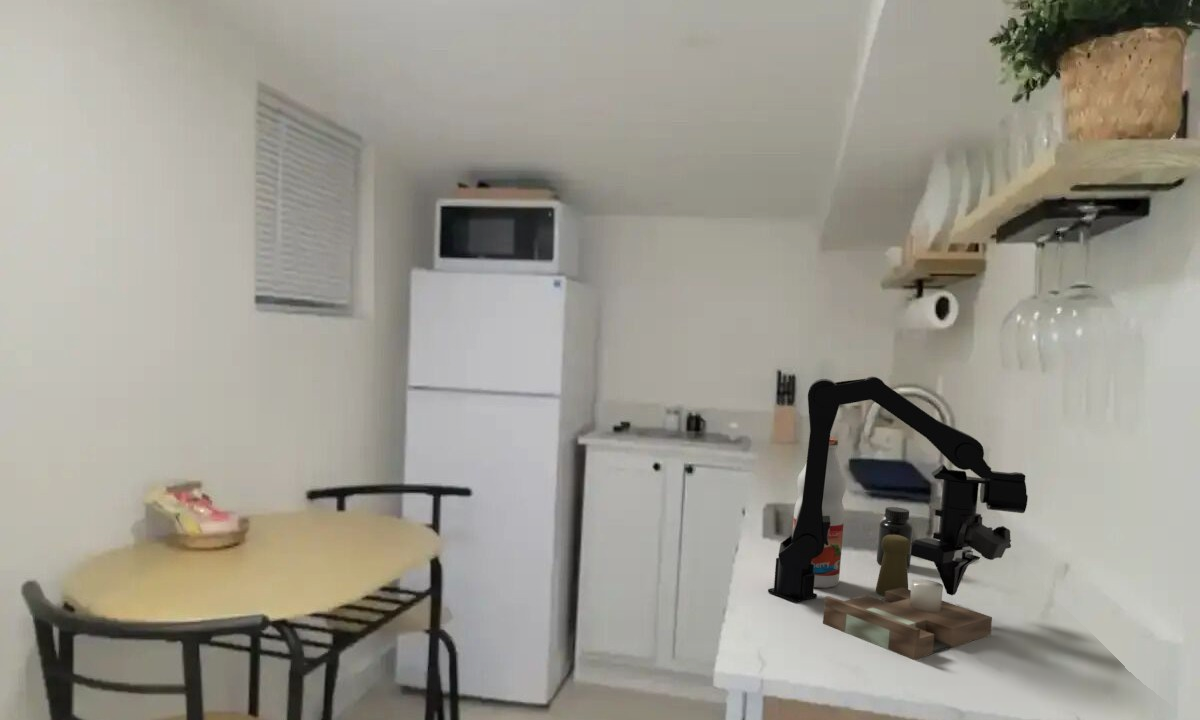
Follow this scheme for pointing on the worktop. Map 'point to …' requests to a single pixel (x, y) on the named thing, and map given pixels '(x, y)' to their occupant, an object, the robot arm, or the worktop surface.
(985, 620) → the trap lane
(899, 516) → the supplement bottle
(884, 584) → the cork
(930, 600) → the white short cylinder
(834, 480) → the fruit juice
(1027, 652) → the worktop surface
